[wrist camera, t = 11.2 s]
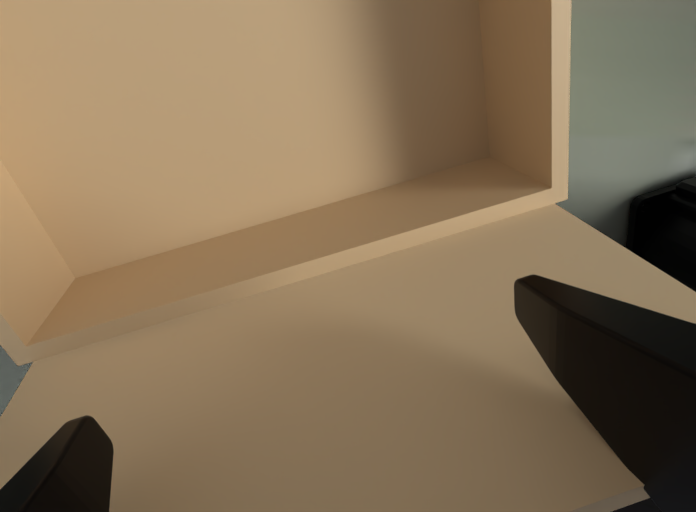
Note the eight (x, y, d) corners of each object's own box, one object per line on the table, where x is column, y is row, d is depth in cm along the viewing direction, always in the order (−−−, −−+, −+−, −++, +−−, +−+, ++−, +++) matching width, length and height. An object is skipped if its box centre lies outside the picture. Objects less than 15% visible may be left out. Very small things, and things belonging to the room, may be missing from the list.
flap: (554, 203, 15) (553, 215, 15) (33, 361, 14) (42, 372, 14) (874, 404, 7) (862, 421, 8) (-223, 791, 6) (-193, 797, 7)
